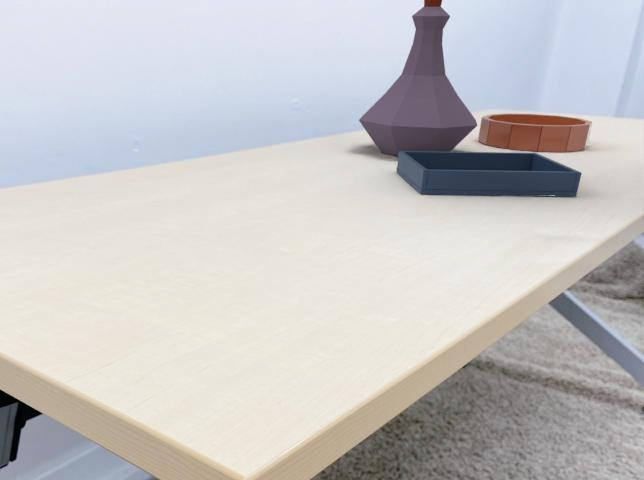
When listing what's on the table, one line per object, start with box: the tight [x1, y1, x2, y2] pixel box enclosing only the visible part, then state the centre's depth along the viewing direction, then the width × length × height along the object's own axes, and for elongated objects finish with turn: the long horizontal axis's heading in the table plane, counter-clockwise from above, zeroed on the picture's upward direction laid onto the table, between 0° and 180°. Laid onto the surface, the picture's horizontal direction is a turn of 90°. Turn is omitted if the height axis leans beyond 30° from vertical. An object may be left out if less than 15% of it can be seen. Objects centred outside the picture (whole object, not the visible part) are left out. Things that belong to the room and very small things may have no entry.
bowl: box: [477, 113, 593, 153], centre depth 105 cm, size 15×15×4 cm
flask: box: [358, 0, 478, 157], centre depth 94 cm, size 16×16×20 cm
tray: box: [396, 151, 582, 198], centre depth 79 cm, size 16×12×2 cm
